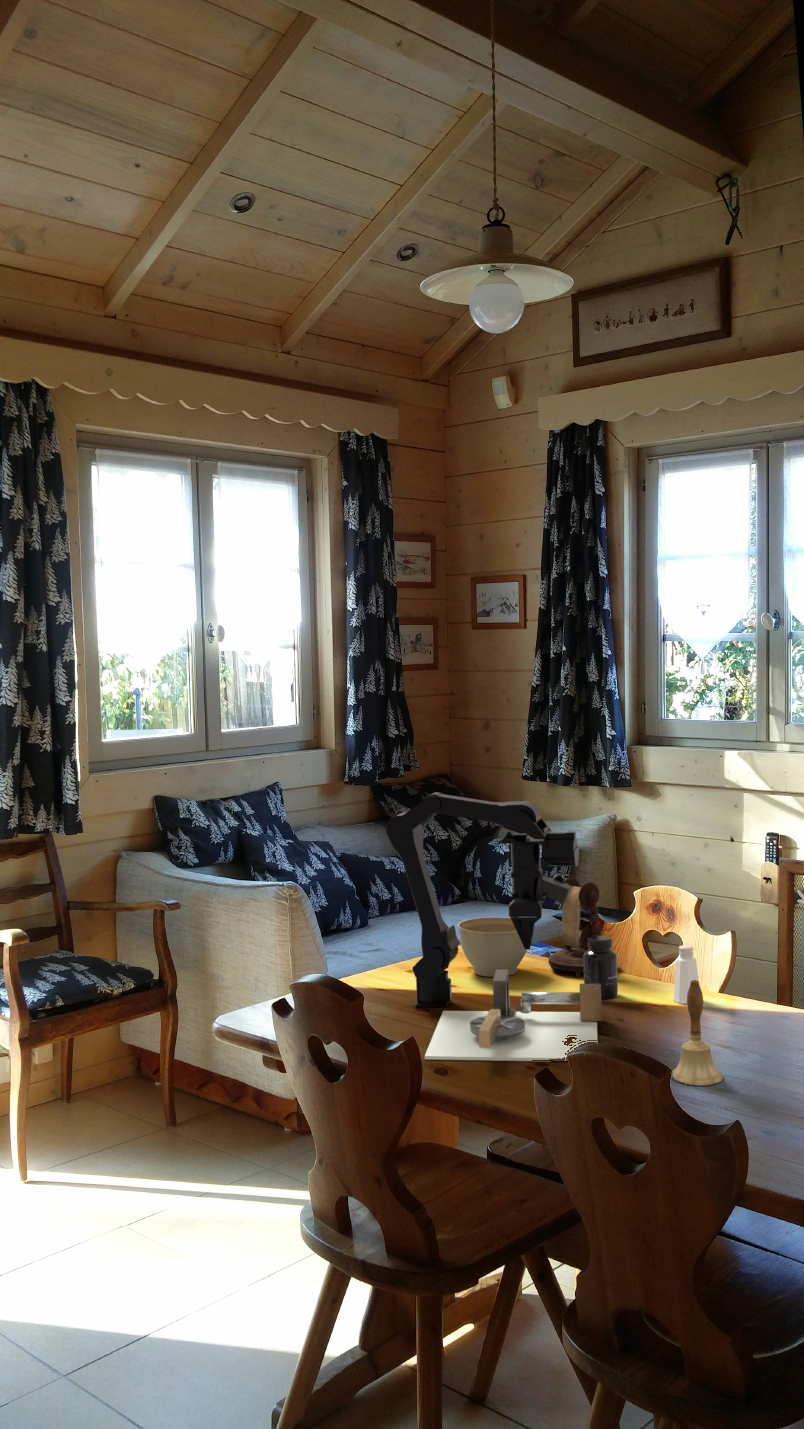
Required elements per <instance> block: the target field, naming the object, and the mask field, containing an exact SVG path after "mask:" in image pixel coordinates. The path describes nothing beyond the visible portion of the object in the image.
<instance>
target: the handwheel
mask: <svg viewBox="0 0 804 1429" xmlns="http://www.w3.org/2000/svg"><path fill="white" fill-rule="evenodd" d="M488 1011H489V1013H488V1015H487V1016H482V1017H478V1018H476V1019H473V1020H472V1021H471V1022H470V1031H471V1033H473V1034H474V1035H477V1036H479V1048H490V1046H491V1044H492V1042H493V1040H494V1038H508V1037H513V1036H517V1035H520V1034H522V1033H523V1032H524V1031H525V1022H524V1021H523V1020H522V1019H520V1018H518V1017H514V1016H508V1015H501V1014H500V1009H493V1008H490V1009H489V1010H488Z"/></svg>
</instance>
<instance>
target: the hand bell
mask: <svg viewBox="0 0 804 1429" xmlns="http://www.w3.org/2000/svg"><path fill="white" fill-rule="evenodd" d="M686 1005H687V1011H688V1014H689V1018H690V1027H689V1028H690V1031H689V1032H690V1035H689V1037H690V1038H689V1040H688V1041H685V1042H684V1043H683V1044H682V1046H681V1052H680V1054H681V1055H680V1058H679V1059H680V1060H679V1062H678V1064H677V1066H676V1068H674V1069H673V1070H672V1072H673V1078H674V1077H675V1080H676V1079H677V1081H680V1082H683V1083H685V1084H684V1085H687V1084H689V1085H688V1086H698V1087H699V1086H701V1087H703V1086H711V1085H715V1084H719V1083H721V1082H723V1079H724V1076H723V1074H722V1072H721V1071H720V1070H719V1069H718V1068H717V1067H716V1065H715V1063H714V1061H713V1057H712V1053H711V1046H710V1045H709V1043H707V1042H705V1041H703V1040H702V1031H701V1016H702V1013H703V1008H704V995H703V991H702V988H701V986H700V980H699V981H697V980H691V983H690V987H689V990H688V993H687V1004H686ZM675 1080H674V1081H675ZM677 1081H676V1082H677Z"/></svg>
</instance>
